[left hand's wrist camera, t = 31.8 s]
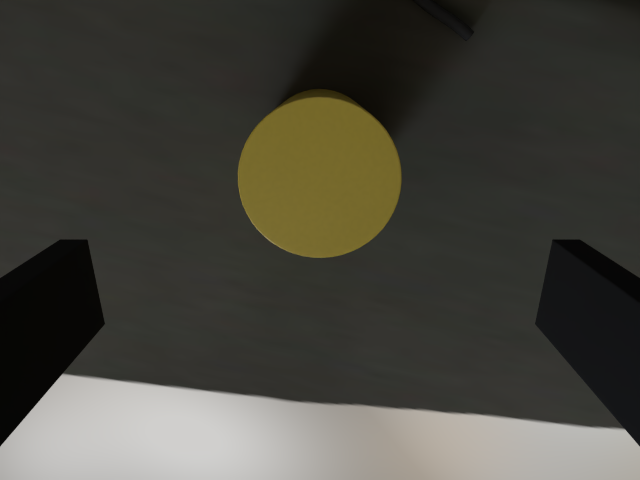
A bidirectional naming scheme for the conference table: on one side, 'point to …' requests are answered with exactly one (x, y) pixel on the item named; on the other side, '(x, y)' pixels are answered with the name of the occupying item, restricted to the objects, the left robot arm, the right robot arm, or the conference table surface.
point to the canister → (319, 175)
